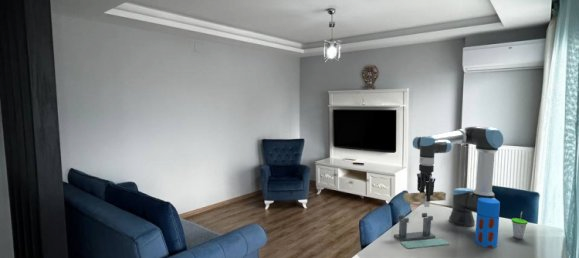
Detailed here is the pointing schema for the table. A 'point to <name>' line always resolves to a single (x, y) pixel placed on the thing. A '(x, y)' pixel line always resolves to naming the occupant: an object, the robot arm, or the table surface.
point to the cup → (519, 227)
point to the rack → (416, 235)
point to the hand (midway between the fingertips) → (424, 205)
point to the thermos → (487, 222)
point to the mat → (424, 243)
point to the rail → (421, 197)
